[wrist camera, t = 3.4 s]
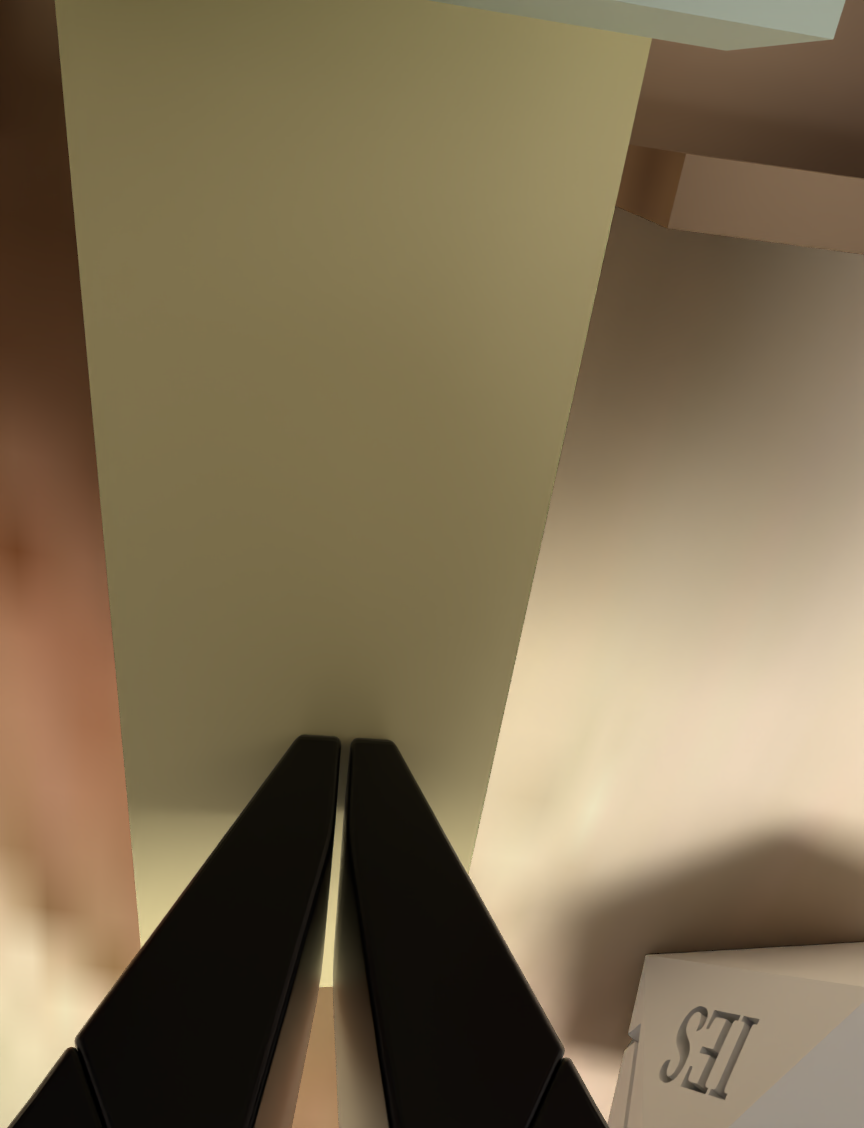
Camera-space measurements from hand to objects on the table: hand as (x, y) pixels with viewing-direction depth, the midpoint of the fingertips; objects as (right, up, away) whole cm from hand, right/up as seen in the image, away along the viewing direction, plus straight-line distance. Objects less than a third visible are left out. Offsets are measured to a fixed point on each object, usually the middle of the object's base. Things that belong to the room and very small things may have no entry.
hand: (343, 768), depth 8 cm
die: (+8, -8, +11) cm, 16 cm away
